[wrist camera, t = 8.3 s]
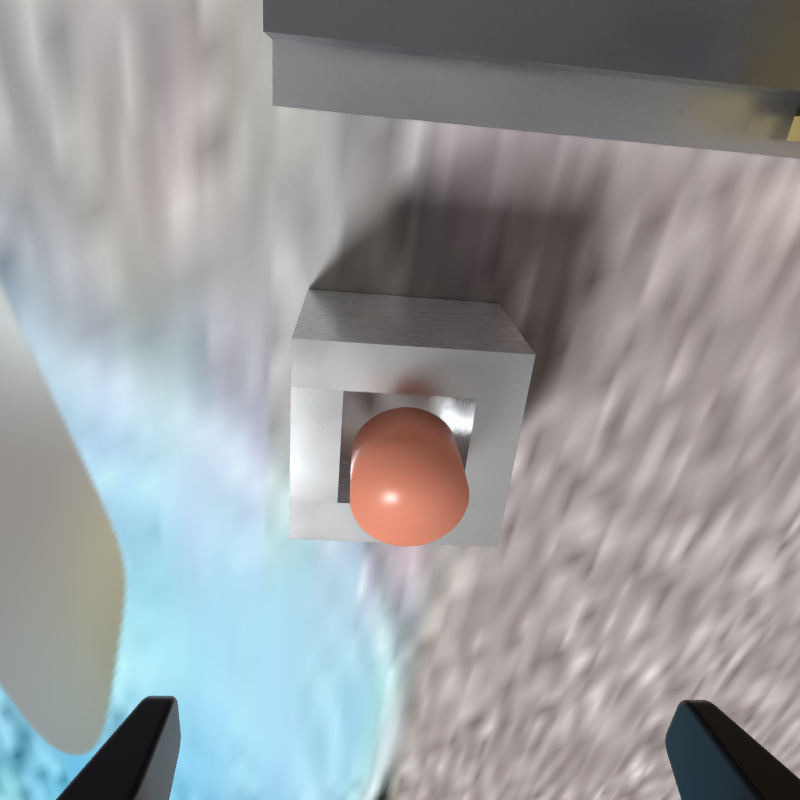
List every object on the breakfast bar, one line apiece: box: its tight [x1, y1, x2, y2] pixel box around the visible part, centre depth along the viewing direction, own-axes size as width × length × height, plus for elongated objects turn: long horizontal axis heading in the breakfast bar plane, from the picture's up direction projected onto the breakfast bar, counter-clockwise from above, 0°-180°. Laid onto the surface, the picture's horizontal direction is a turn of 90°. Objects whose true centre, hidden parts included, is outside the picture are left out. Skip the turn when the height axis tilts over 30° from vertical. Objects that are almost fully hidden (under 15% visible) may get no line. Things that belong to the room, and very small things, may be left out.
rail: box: [263, 0, 800, 158], centre depth 15 cm, size 22×6×2 cm, turn 85°
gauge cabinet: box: [289, 289, 536, 547], centre depth 18 cm, size 6×6×4 cm
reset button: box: [350, 407, 469, 546], centre depth 15 cm, size 3×3×2 cm
